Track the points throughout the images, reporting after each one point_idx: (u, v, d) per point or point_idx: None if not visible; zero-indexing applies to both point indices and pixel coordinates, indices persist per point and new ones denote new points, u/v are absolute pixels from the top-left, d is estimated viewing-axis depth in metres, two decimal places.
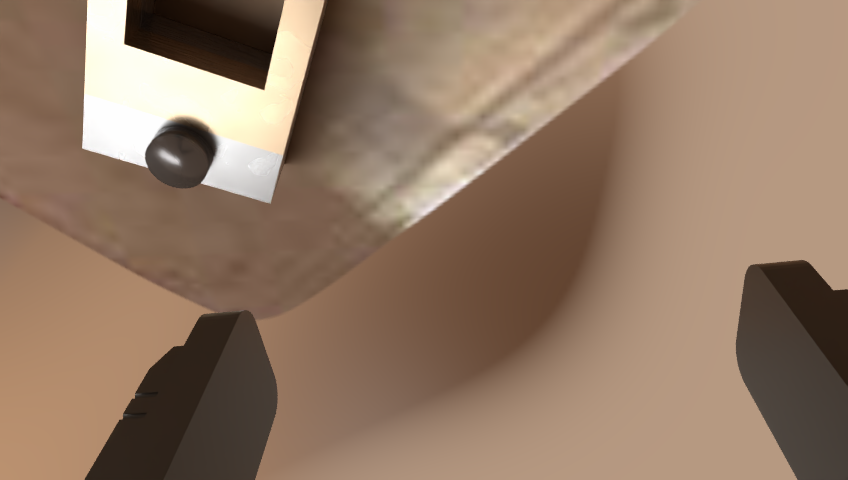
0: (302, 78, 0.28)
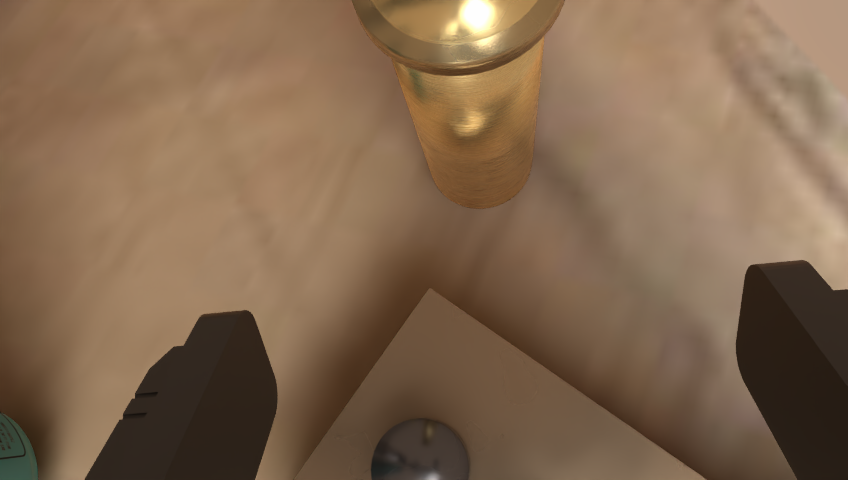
0: None
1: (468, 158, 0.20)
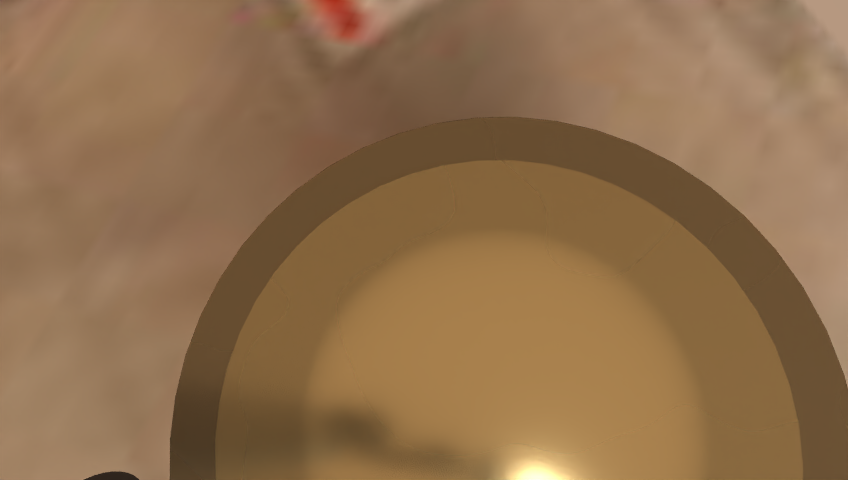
0: None
1: None
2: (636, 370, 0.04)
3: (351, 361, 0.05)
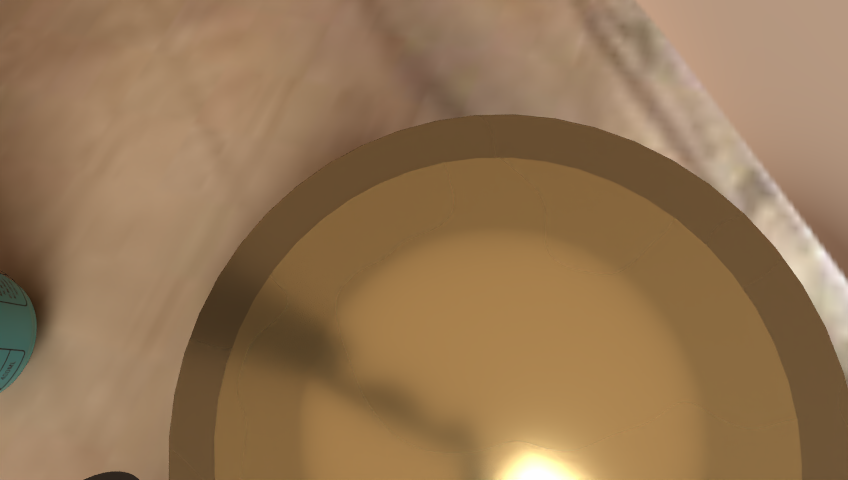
0: None
1: None
2: (635, 367, 0.04)
3: (350, 359, 0.05)
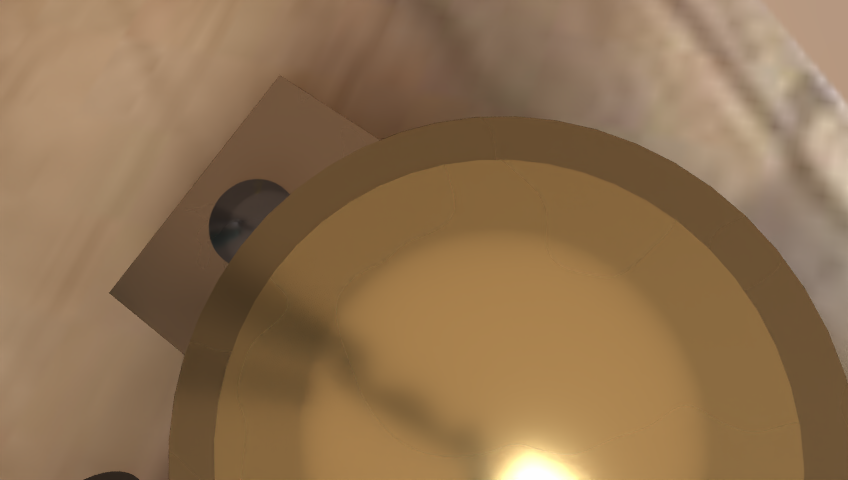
0: None
1: None
2: (636, 371, 0.04)
3: (350, 362, 0.05)
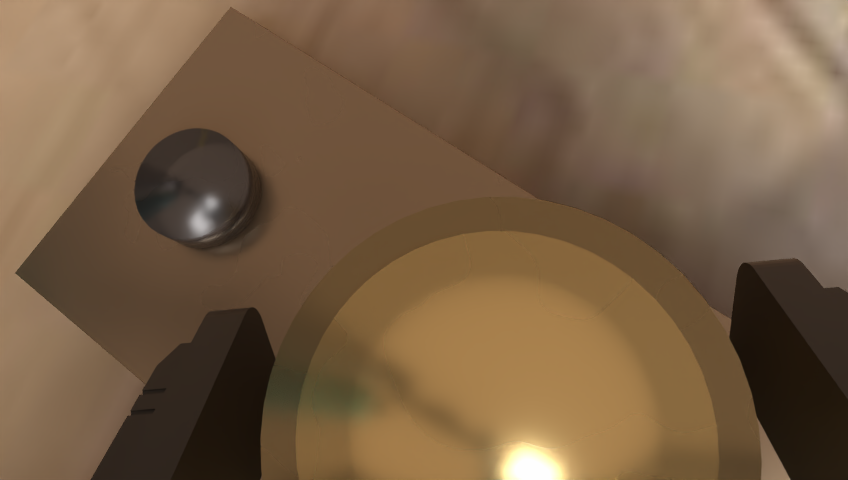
0: None
1: None
2: (602, 388, 0.06)
3: (395, 381, 0.06)
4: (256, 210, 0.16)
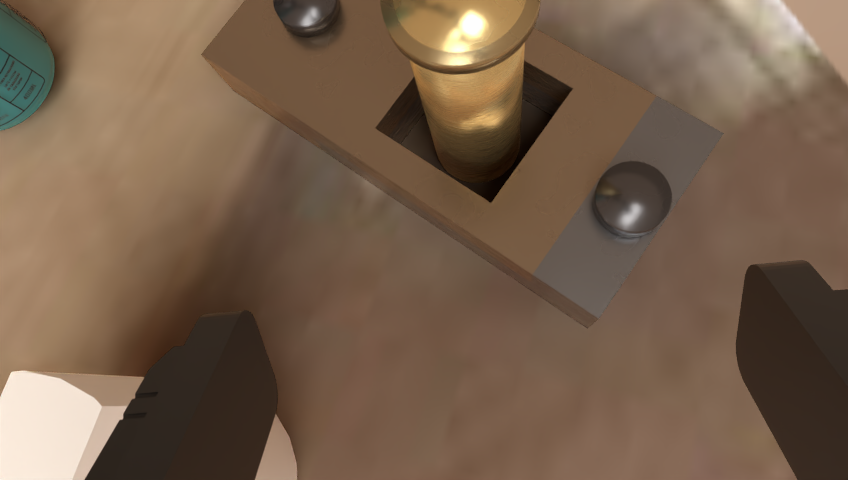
0: (568, 48, 0.27)
1: (466, 138, 0.25)
2: None
3: None
4: (338, 16, 0.29)
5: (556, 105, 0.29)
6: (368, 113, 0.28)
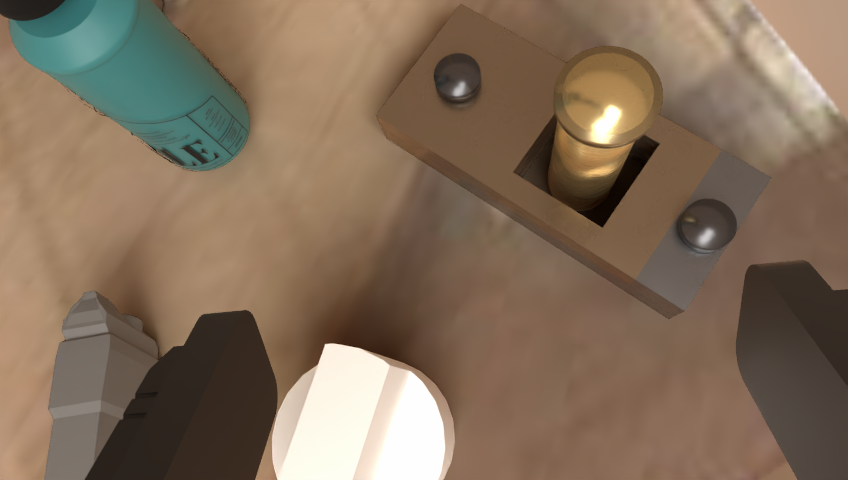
0: None
1: (588, 182, 0.35)
2: (630, 83, 0.29)
3: (584, 84, 0.29)
4: (480, 87, 0.39)
5: (642, 152, 0.39)
6: (507, 161, 0.38)
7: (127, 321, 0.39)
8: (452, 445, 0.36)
